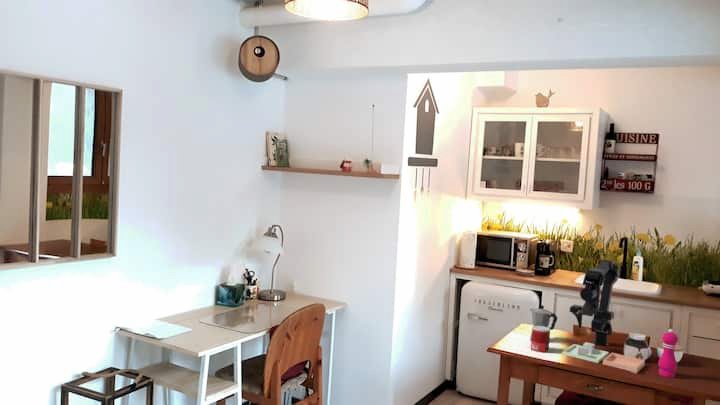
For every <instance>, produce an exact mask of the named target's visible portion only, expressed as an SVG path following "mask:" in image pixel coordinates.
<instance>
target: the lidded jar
mask: <svg viewBox="0 0 720 405" xmlns="http://www.w3.org/2000/svg"><path fill="white" fill-rule="evenodd" d="M663 343H664V341H659V342H657V345H656V346H657V350H656V351H657V356H658V358H659V359H660V357H661V356H662V354H663V351H664V347H663ZM675 345H676V348H675V350H674V355H675V359H676V362H677V363H678V362H680V361H681V359H682V357H683V353H684V350H685V349H684V346H682V345H681V344H678V343H676V344H675Z"/></svg>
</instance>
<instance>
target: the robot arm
mask: <svg viewBox="0 0 720 405" xmlns="http://www.w3.org/2000/svg"><path fill="white" fill-rule="evenodd" d="M620 275H621V270H620V266H618V265H616V264H615V263H614V261H613V260H610V259H609V260H606V259H602V260H600V263H598V264H597V266H596V267H595V268H589V269H588V270H587V271H586V272H585V274H584V278H583V281H582V286H584V288H582V289H581V290H580V292H579V296H580V298H581V299H582V300H583V301H584V304H583V305H579V304H573V305H571V306H570V307H569V312H570V313H571V314H572V315H573V316H575V317H576V320H577V324H578V328H579V329H582V325H583V316H586V317H587V316H588V317H592V320H591V324H590V327H591V332H592V333H594V341H593V342H592V344H595V346H601V347H604V348H605V347H607V346H609V345H610V343H608V337H609V336H613V327H612V324H611V322H612V320H613V319H615V313H614V312H613V311H610V310H609V309H610V304H611V301H612V300H611V299H612V294H613V287H614V285H615V283H617V281H618V280H619V277H620ZM601 288H602V289H601Z"/></svg>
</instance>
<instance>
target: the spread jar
mask: <svg viewBox="0 0 720 405" xmlns="http://www.w3.org/2000/svg"><path fill="white" fill-rule="evenodd" d="M623 355H624V356H628V357H633V358H637V359H641V360H645V361H646V360H647V359H648V358H650V357H651V355H652V349H651V347H650V346H649V344H648V342H647V340H646V335H645V334H642V333H638V332H630V333H628V337H627V338H626V339H625V341H624V344H623Z"/></svg>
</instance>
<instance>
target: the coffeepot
mask: <svg viewBox="0 0 720 405" xmlns="http://www.w3.org/2000/svg"><path fill="white" fill-rule="evenodd" d="M544 307H545V306H544V305H540V308H531V309H530V311H531V313H532V314H531V318H532V324H533V326H544V327H547V328H549V329H550V331H551V330H552V331H553V330H554V328H555V325H556V323H557V321H558V317H557V314H556V313H554V312H552V311H549V310H547V309H544ZM551 318H553V320H552V323H551V325H550V320H551ZM549 325H550V326H551V327H549ZM531 338H532V332H531V333H530V337H529V341H531Z"/></svg>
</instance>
